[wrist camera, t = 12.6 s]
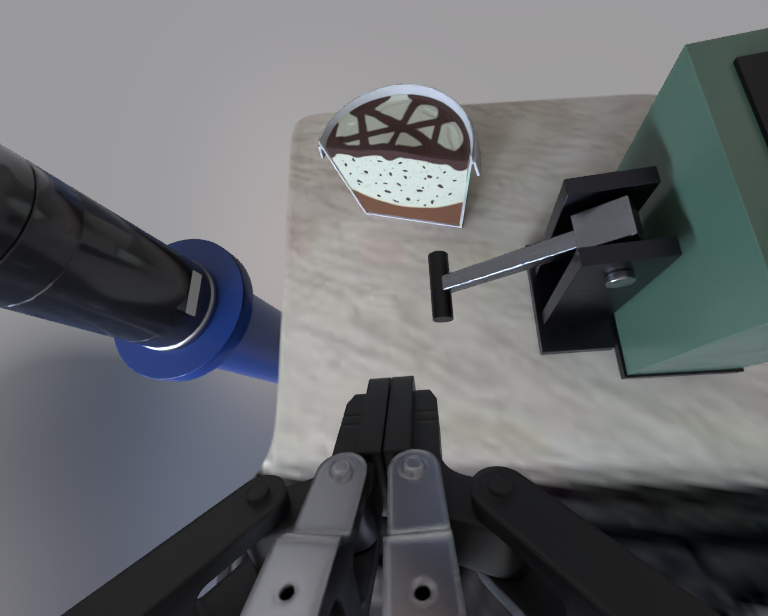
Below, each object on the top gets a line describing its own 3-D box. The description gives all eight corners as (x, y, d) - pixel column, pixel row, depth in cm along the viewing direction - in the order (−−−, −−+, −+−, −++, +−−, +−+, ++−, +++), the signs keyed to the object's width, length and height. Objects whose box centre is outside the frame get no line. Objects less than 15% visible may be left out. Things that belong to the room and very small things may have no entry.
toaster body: (621, 379, 29) (784, 320, 14) (586, 218, 33) (681, 36, 18) (737, 372, 27) (1063, 298, 12) (685, 205, 31) (880, -4, 16)
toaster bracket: (540, 355, 30) (583, 305, 19) (524, 250, 33) (551, 148, 21) (610, 350, 30) (702, 294, 18) (587, 242, 32) (653, 131, 20)
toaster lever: (444, 324, 29) (424, 318, 27) (439, 262, 30) (420, 253, 29) (654, 273, 20) (644, 259, 19) (632, 190, 22) (621, 170, 20)
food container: (492, 171, 36) (499, 80, 27) (478, 230, 35) (480, 156, 25) (368, 158, 40) (336, 74, 30) (351, 211, 38) (311, 140, 29)
